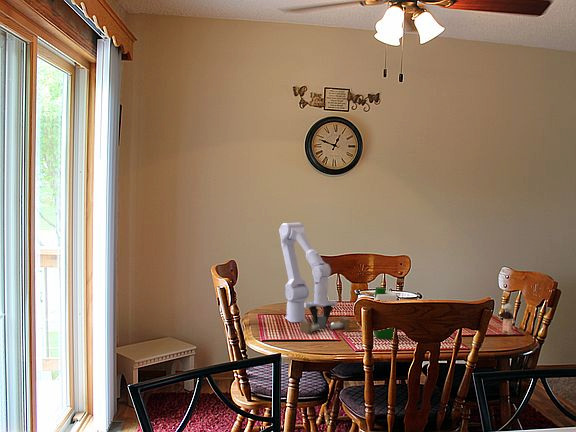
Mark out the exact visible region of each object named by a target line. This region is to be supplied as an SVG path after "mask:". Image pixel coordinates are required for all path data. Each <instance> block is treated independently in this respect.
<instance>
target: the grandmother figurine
mask: <svg viewBox="0 0 576 432" xmlns="http://www.w3.org/2000/svg"><path fill="white" fill-rule="evenodd" d="M502 309H503V310H504V311H502V312H501V313H499V315H498V320H501V319H502V318H503V320H502V331H501V333H502V334H506V335H513V334H514V333H513V331H512V324H515V323H516V322H515V316H514V315H513V314H512V312H511V310H512V305H511V304H510V303H505V304H504V305H503V307H502Z"/></svg>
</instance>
